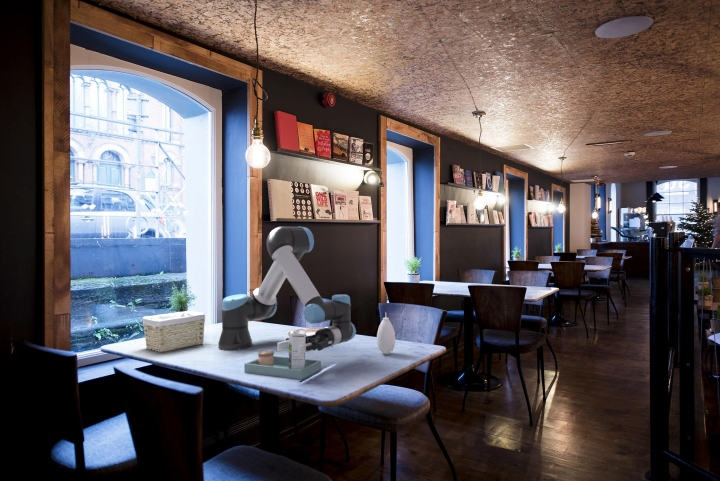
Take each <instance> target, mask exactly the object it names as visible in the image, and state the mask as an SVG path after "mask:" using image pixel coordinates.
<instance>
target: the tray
mask: <svg viewBox="0 0 720 481" xmlns="http://www.w3.org/2000/svg"><path fill="white" fill-rule="evenodd" d="M273 364H274V367H273V366H264V365H259V362H258V358H256V359H253V360H250V361H249V362H248V361H247V362H246V363H244V367H243V368H244V369H243V370H244V373H247V374H256V375H264V376H272V377H280V378H288V379H293V380H298V382H299V383H302V382H305V381H306V380H308V379H310V378H312V377H314V376H316V375H317V374H319V373H321V372H322V360H319V359H316V360H314V359H307V358H305V368H303V369H301V370H298V369H289V356H278V355H273Z"/></svg>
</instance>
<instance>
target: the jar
mask: <svg viewBox="0 0 720 481" xmlns="http://www.w3.org/2000/svg"><path fill="white" fill-rule="evenodd" d="M257 356H258V358H257V359H258V362H259V365H264V366H273V367H274V364H273V356H275V352H274V351H273V350H261V351H258V352H257Z"/></svg>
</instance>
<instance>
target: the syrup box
mask: <svg viewBox="0 0 720 481" xmlns="http://www.w3.org/2000/svg"><path fill="white" fill-rule="evenodd" d="M290 331H291V330H290ZM288 338H289V348H288V357H289V369H298V370H301V369H303V368H305V359H306V352H305V353H302V354H298V346H301V345H304V344H306V332H305V331H291V332H290V334H289V335H288Z"/></svg>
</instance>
